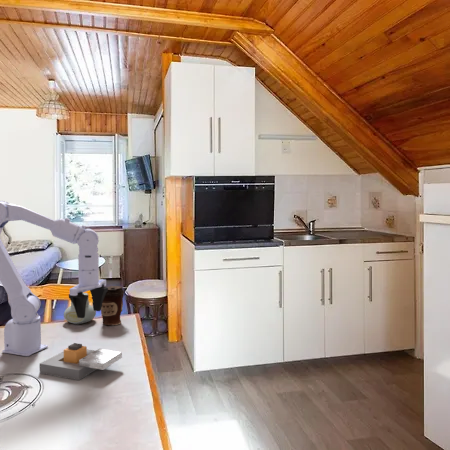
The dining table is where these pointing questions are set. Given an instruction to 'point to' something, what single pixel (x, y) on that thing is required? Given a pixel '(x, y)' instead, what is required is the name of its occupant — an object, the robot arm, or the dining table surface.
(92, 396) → the dining table surface
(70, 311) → the air freshener
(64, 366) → the socket plate
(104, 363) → the panel
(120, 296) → the coffee cup
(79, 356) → the plug
